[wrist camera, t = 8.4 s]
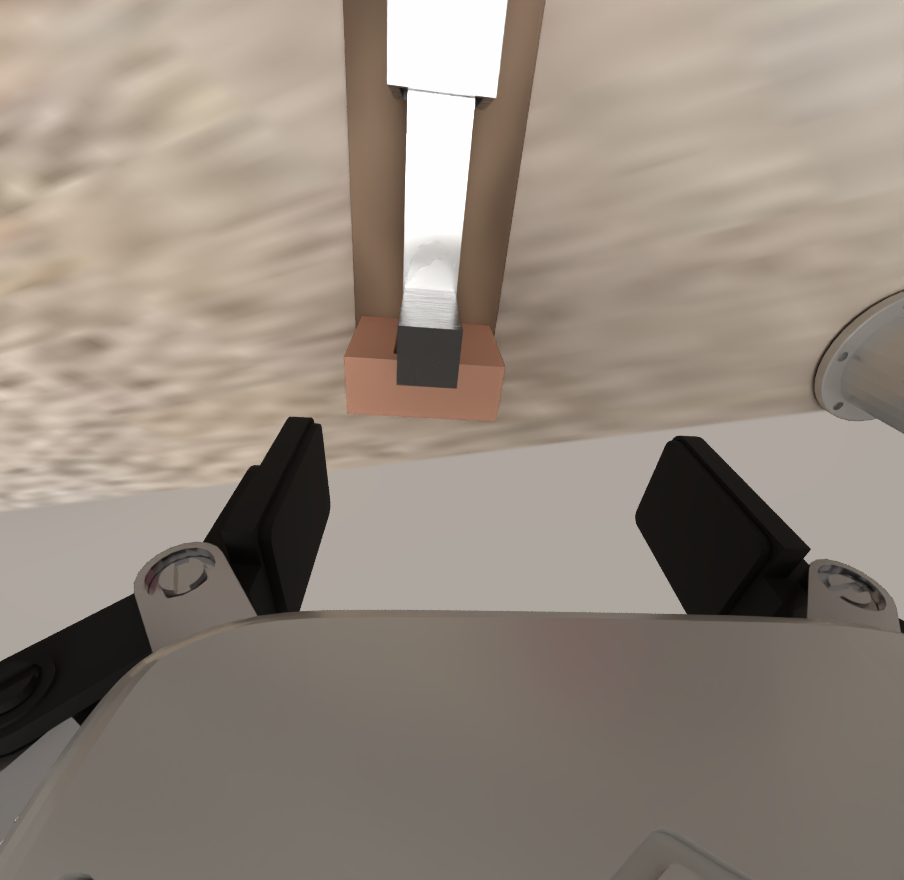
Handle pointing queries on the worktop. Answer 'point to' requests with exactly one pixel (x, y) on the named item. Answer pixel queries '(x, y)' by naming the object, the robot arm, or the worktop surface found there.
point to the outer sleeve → (445, 47)
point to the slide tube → (433, 237)
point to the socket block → (379, 395)
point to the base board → (384, 165)
